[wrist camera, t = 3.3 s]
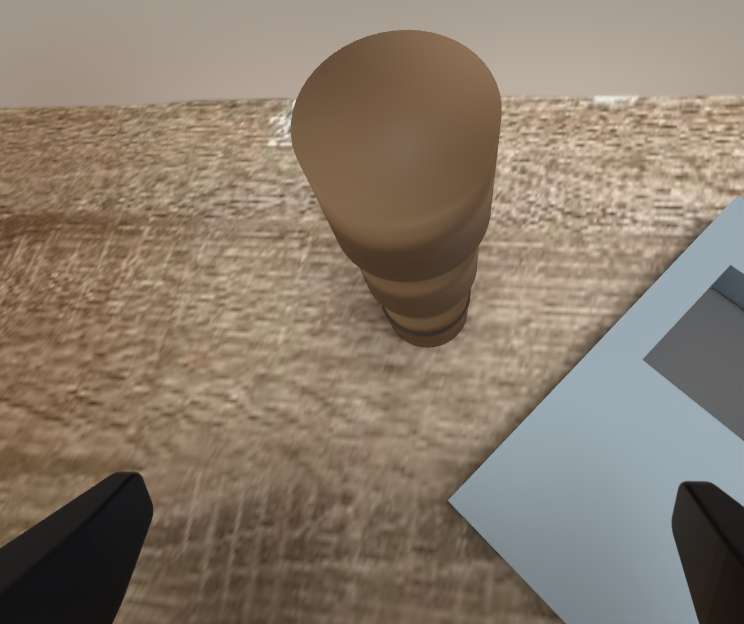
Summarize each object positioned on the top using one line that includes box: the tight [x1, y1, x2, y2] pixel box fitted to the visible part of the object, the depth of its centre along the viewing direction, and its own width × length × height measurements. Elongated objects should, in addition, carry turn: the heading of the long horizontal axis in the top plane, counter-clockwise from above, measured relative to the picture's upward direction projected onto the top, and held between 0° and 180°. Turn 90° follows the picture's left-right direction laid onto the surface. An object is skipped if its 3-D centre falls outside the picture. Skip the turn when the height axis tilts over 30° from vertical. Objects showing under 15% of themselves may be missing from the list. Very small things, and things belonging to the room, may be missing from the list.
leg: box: [291, 30, 501, 347], centre depth 17 cm, size 4×4×13 cm
